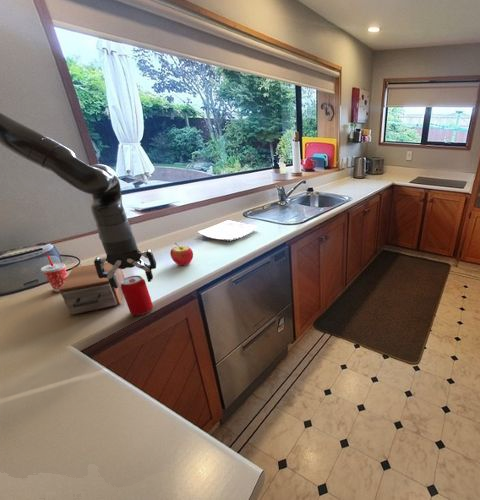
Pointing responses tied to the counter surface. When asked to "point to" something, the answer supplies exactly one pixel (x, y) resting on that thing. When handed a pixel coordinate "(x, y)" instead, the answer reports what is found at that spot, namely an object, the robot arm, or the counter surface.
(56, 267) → the beverage cup
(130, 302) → the beverage can
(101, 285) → the drawer
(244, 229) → the plate
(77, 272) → the cabinet
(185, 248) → the apple
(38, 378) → the counter surface
